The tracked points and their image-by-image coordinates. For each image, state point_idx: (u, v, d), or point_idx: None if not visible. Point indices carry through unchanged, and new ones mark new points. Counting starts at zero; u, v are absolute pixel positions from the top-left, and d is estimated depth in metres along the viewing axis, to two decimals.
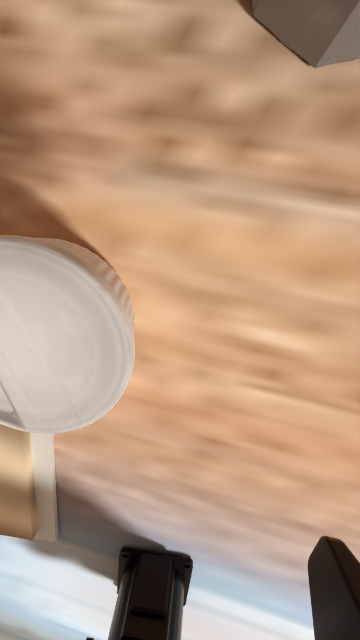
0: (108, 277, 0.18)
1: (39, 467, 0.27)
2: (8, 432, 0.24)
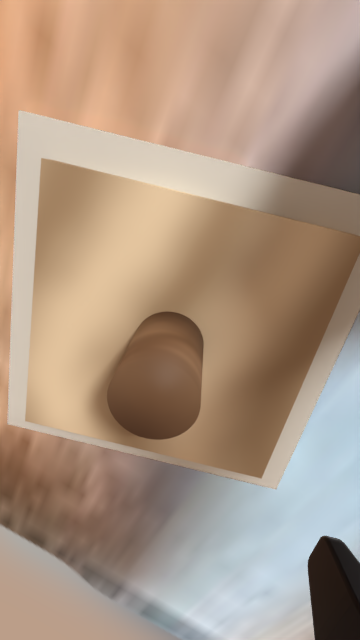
0: None
1: (189, 179, 0.14)
2: (79, 195, 0.13)
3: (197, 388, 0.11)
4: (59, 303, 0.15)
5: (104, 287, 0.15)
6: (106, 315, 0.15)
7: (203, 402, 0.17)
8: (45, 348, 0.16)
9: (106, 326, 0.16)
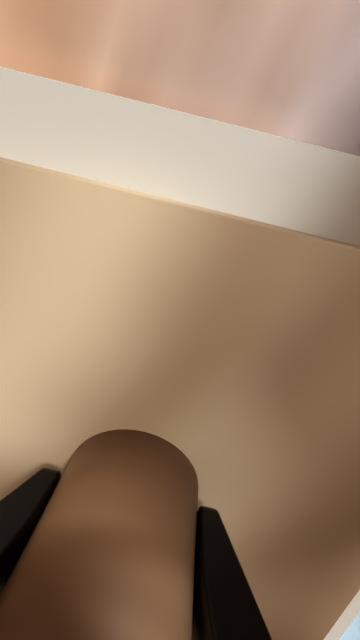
0: None
1: (167, 168, 0.06)
2: None
3: None
4: None
5: (1, 384, 0.07)
6: (11, 431, 0.08)
7: None
8: None
9: (13, 449, 0.08)
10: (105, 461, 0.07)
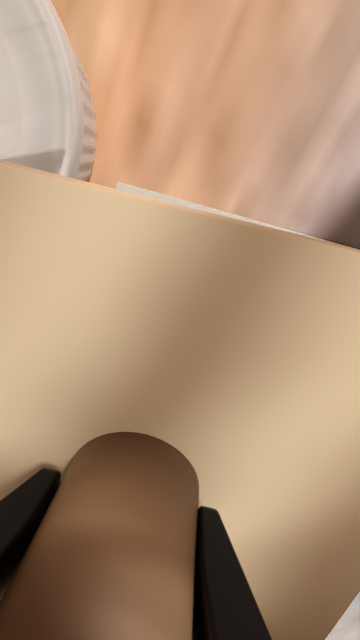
0: None
1: None
2: None
3: None
4: None
5: (3, 386, 0.08)
6: (13, 434, 0.08)
7: None
8: None
9: (15, 451, 0.08)
10: (106, 464, 0.07)
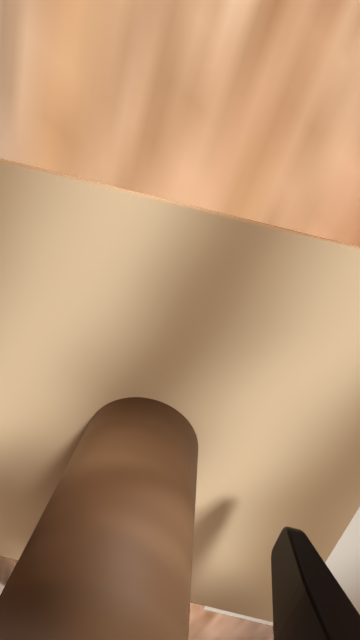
0: None
1: None
2: None
3: (179, 629, 0.05)
4: None
5: (30, 358, 0.09)
6: (38, 400, 0.09)
7: (198, 526, 0.11)
8: None
9: (39, 416, 0.10)
10: (120, 420, 0.08)
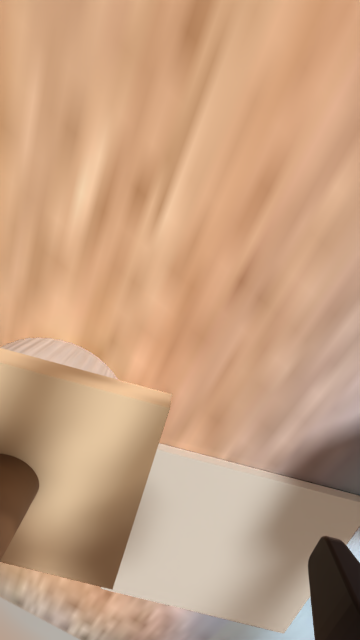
0: None
1: (243, 483, 0.23)
2: None
3: None
4: None
5: None
6: None
7: (47, 527, 0.17)
8: None
9: None
10: None
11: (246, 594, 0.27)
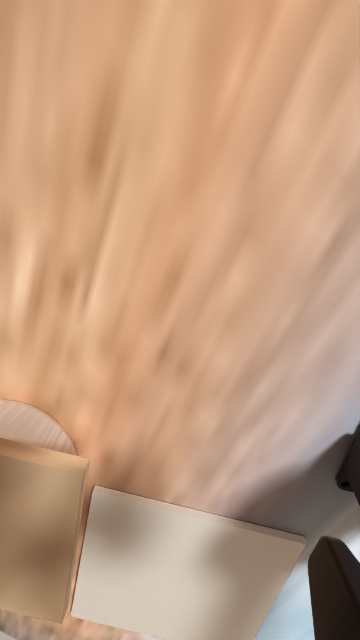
0: None
1: (186, 524, 0.25)
2: None
3: None
4: None
5: None
6: None
7: None
8: None
9: None
10: None
11: (202, 622, 0.29)
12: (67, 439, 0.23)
